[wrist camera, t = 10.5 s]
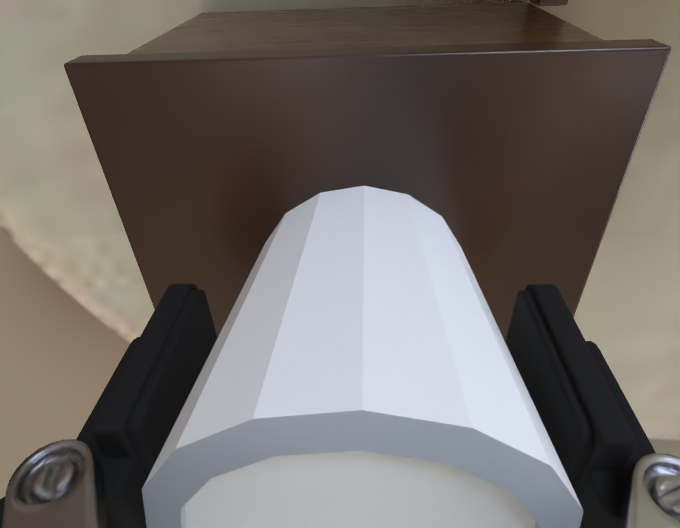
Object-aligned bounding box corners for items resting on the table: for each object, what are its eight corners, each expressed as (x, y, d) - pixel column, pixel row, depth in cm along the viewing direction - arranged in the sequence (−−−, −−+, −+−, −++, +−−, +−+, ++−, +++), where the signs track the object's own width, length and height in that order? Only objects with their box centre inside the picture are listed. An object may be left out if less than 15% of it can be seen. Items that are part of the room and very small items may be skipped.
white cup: (513, 164, 11) (672, 433, 5) (465, 362, 15) (524, 631, 9) (221, 159, 11) (67, 408, 5) (254, 355, 15) (187, 611, 9)
